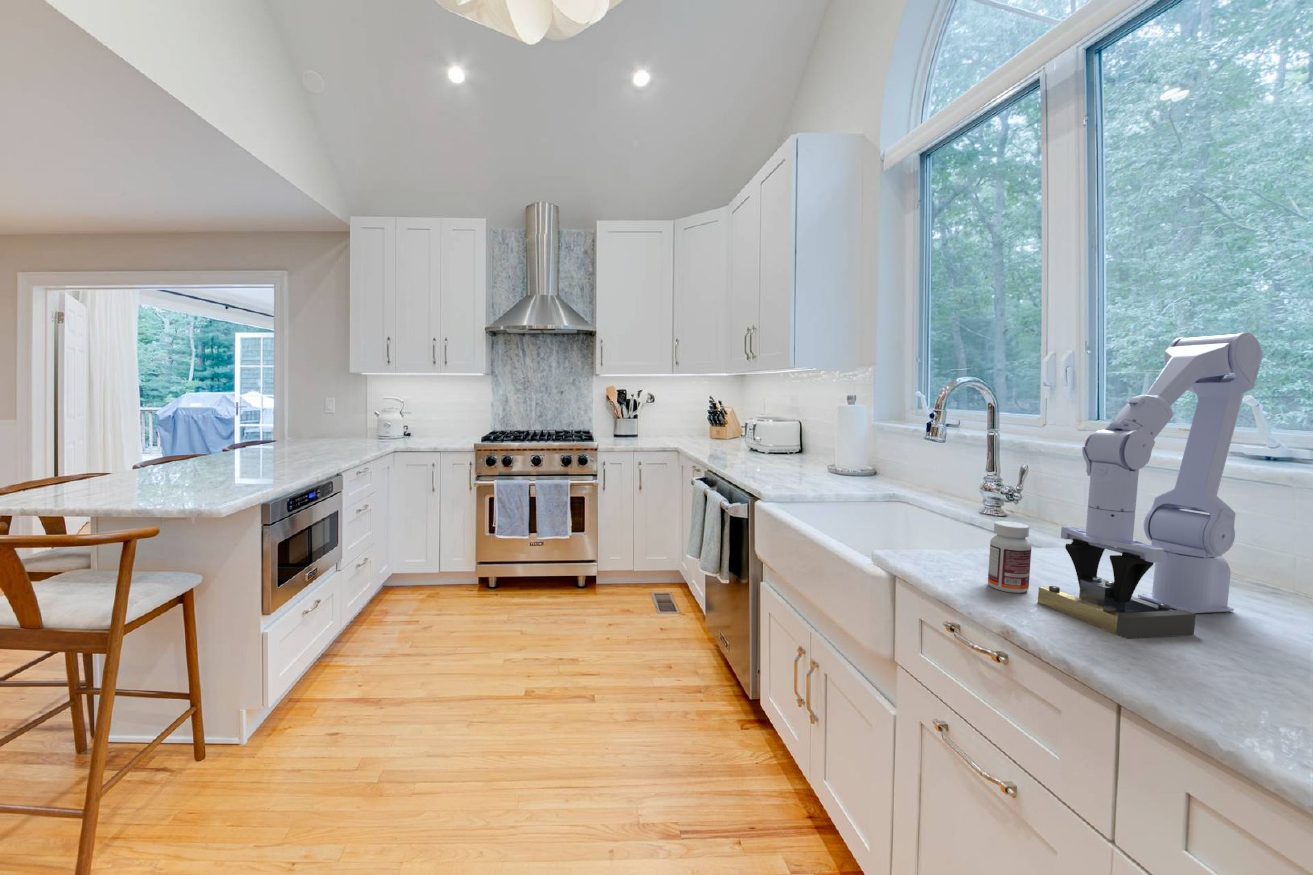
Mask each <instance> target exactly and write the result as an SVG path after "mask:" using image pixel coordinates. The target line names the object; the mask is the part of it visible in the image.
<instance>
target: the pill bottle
mask: <svg viewBox="0 0 1313 875" xmlns="http://www.w3.org/2000/svg"><path fill="white" fill-rule="evenodd" d="M993 525H994V526H993V533H994V534H995V535H994V536H992V537H991V538H990V542H989V555H988V556H989V557H988V558H989V559H988V572H987V573H988V574H987V584H988V585H989V587H991V588H993V589H996V590H999V591H1002V592H1006V593H1016V594H1017V593H1019V594H1021V593H1026V592H1028V591H1029V589H1030V588H1029V587H1030V574H1031V560H1032V543H1031V541H1029V540H1028V539H1027V538H1028V537H1029V536H1030V526H1029V525H1028V524H1025V523H1021V522H1015V521H1010V520H1009V521H1008V520H1006V521H1005V520H998V521H994V524H993Z"/></svg>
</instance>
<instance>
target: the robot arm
mask: <svg viewBox="0 0 1313 875" xmlns="http://www.w3.org/2000/svg"><path fill="white" fill-rule="evenodd" d="M1260 344H1261V343H1260V342H1259V340H1258V339H1257V338H1256V336H1255V335H1254V334H1252V333H1250V332H1248V331H1247V332H1239V333H1236V334H1235V333H1234V334H1222V335H1221V334H1220V335H1210V336H1209V335H1208V336H1198V337H1197V336H1196V337H1177V338H1175V339H1174V340H1172V341H1171V343H1170V344H1169V346H1168V347H1167V349H1165V351H1164V358H1163V359H1164V367H1163V368H1162V370H1161V371H1160V373H1159V374H1158V375H1157V376H1156V378H1155V381H1154V382H1153V383H1152V384H1151V386H1150V388H1148V391H1146V393H1145V394H1140V395H1137V396H1134V397H1131V398H1130V399H1129V401H1127V403H1126V404H1125V405H1124V406H1123V408H1122V409H1121V410H1120V411H1119V412H1118V413H1117V414H1116V415H1115V417H1114V418H1113V419H1112V420H1111V422H1110V423H1109V424H1107V426H1106V427H1105V428H1104V429H1098V430H1097V431H1095V432H1092V433H1091V434H1090V435H1088V437H1087V438H1086V439H1085V442H1084V445H1083V446H1082V457H1083V460H1084V461H1085V463H1086V471H1085V472H1086V473H1087V476H1088V477H1089V488H1088V499H1087V512H1086V514H1087V515H1086V523H1085V524H1086V525H1085V526H1086V527H1085V528H1080V527H1074V526H1061V529H1060V539H1064V540H1070V541H1072V542H1071V543H1066V544H1065V546H1064V548H1065V550H1066V552H1067V553H1068V555H1069V557H1070V559H1071V562H1072V564H1073V566H1074V570H1075V574H1076V578H1077V582H1078V586H1079V588H1080V581H1081V579H1092V577H1093V576H1094V577H1098V570H1099V566H1100V562H1101V559H1102V557H1103V554H1104V552H1105V551H1106V550H1108V551H1111V552H1112V551H1113V552H1115V553H1119V554H1115V555H1112V554H1111V555H1109V560H1110V564H1111V566H1112V571H1113V572H1112V573H1113V582H1114V601H1115V602H1117V603H1129V602H1130V600H1131V597H1132V596H1133V595H1134V592H1135V590H1136V588H1137V587H1138V584H1139V583H1140V581H1141V579H1142V578H1143V577H1144V575H1145V574H1146V573H1147V572H1148V571H1149V569H1151V568H1152V567H1153V566H1154V569H1153V570H1154V571H1153V578H1152V579H1153V580H1152V581H1153V582H1152V592H1151V593H1138V594H1137V598H1139V599H1142V600H1145V601H1148V602H1151V603H1154V604H1158V603H1164V604H1168V605H1170V609H1172V610H1185V611H1188V612H1191V613H1194V614H1205V613H1222V612H1223V613H1224V612H1234V610H1235V608H1234V607H1230V606H1228V605H1229V604H1228V603H1229V594H1230V593H1229V592H1230V583H1231V582H1230V581H1231V575H1232V574H1231V567H1230V565H1229V563H1228V562H1227V561H1226V559H1225V558H1224V557H1222V556H1223V555H1224V554H1227V552H1228V551H1230V549H1231V548H1232V546H1233V545H1234V542H1235V540H1236V539H1235V537H1236V530H1235V520H1236V512H1235V511H1234V510H1233V509H1232V507H1230V505H1229V504H1227V503H1226V502H1225V501H1224V500H1222V499H1221V498H1220V497H1219V496H1218V492H1219V489H1220V486H1221V481H1222V477H1223V473H1224V469H1225V467H1226V462H1227V458H1228V454H1229V450H1230V447H1231V443H1232V439H1233V435H1234V432H1235V428H1236V424H1237V420H1238V416H1239V413H1240V408H1241V405H1242V402H1243V397H1244V394H1245V393H1246V392H1249V391H1251V390H1253V389H1255V383H1256V381H1257V378H1258V375H1259V371H1260V367H1261V364H1262V363H1261V362H1262V360H1263V351H1262V348H1261V345H1260ZM1187 391H1188V392H1192V393H1194V394H1195V396H1197V403H1196V405H1195V406H1196V407H1195V410H1194V414H1193V418H1192V421H1191V424H1190V430H1189V431H1188V432H1189V434H1188V437H1187V441H1186V444H1185V447H1184V451H1183V455H1182V459H1181V464H1180V468H1179V471H1178V475H1177V477H1176V482H1175V484H1174V488H1172V489H1171V490H1168V491H1166V492H1164V493H1162V494H1160V495H1158V496H1156V497H1154V501H1153V504H1152V506H1151V508H1150V510H1149V511H1148V513H1147V514H1146V516H1145V517H1144V520H1143V531H1144V534H1145V536H1146V539H1147V540H1149V542H1151V545H1150V544H1147V543H1146V542H1142V541H1139V540H1137V539H1134V532H1135V518H1136V508H1137V496H1138V487H1139V486H1138V485H1139V472H1140V470H1141V469H1143V468H1144V467H1145V466H1146V465H1148V463H1149V462H1150V460H1151V457H1152V453H1153V452H1152V451H1153V449H1154V447H1155V444H1156V441H1155V438H1157V436H1159V434H1160V433H1161V432H1162V430H1163V429H1164V428H1165V427H1166V426H1167V424H1169V422H1170V421H1171V420H1172V418H1173V416H1174V412H1173V408H1172V407H1171V406H1173V404H1174V403H1176V401H1178V399H1179V398H1181V397H1182V396H1183V395H1184V394H1185V393H1186V392H1187ZM1187 510H1188V511H1187Z"/></svg>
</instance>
